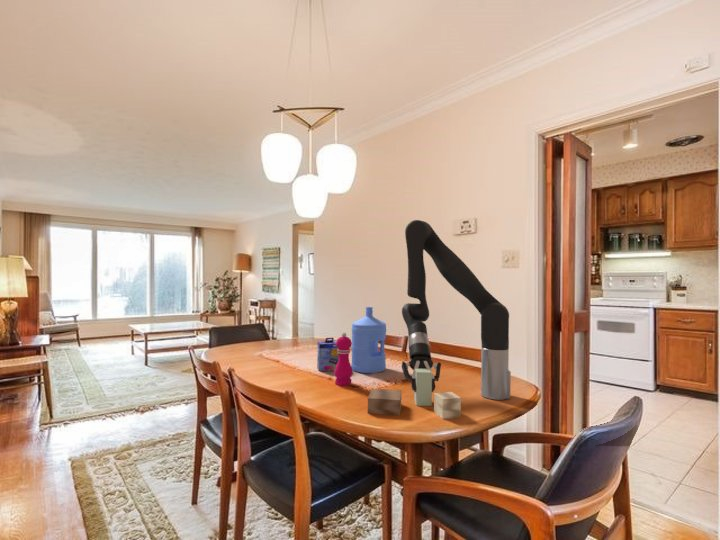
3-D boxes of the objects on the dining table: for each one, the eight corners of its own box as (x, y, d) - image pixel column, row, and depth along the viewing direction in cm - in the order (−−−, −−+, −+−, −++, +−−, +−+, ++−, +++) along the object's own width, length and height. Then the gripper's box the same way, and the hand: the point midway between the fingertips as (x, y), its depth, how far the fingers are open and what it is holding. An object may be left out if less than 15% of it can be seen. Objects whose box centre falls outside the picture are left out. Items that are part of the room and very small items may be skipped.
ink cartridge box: (318, 371, 168) (319, 338, 168) (316, 368, 173) (316, 336, 174) (340, 370, 171) (341, 337, 171) (337, 367, 176) (338, 335, 177)
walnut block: (401, 405, 127) (401, 390, 127) (400, 416, 117) (400, 400, 117) (371, 403, 129) (371, 388, 129) (367, 414, 119) (367, 398, 119)
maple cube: (451, 410, 122) (451, 391, 122) (460, 417, 116) (460, 397, 116) (433, 412, 121) (434, 393, 121) (442, 419, 115) (442, 399, 115)
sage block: (429, 400, 131) (429, 368, 131) (431, 405, 126) (431, 372, 126) (414, 400, 131) (414, 368, 131) (416, 405, 126) (416, 372, 126)
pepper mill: (336, 386, 146) (337, 334, 146) (332, 381, 153) (333, 331, 153) (354, 385, 148) (355, 333, 148) (350, 380, 155) (350, 331, 155)
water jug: (346, 371, 168) (347, 308, 168) (357, 364, 183) (358, 305, 183) (380, 375, 163) (381, 309, 163) (389, 367, 178) (390, 306, 178)
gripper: (400, 341, 136) (403, 385, 124) (440, 342, 136) (447, 385, 124) (398, 353, 142) (401, 396, 130) (437, 353, 142) (443, 396, 129)
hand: (423, 390), depth 127 cm, fingers closed on sage block, 5 cm apart
